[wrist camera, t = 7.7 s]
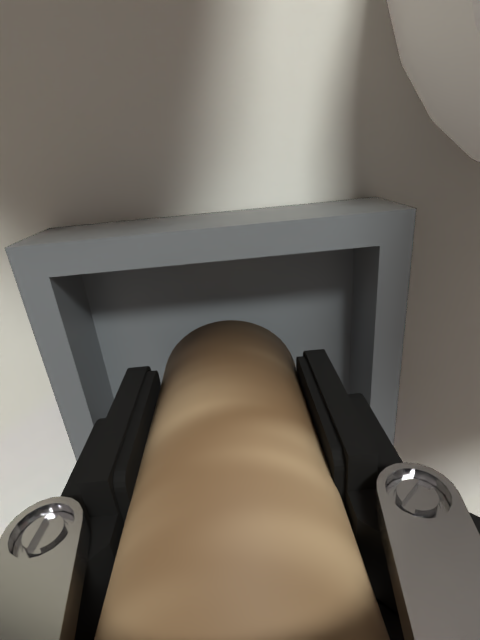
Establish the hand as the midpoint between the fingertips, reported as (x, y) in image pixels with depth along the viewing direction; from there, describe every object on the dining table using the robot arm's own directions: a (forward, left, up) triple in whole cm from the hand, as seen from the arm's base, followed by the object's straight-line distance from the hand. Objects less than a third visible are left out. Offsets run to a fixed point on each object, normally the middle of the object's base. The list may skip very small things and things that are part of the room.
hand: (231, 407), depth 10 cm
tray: (0, 0, -3) cm, 3 cm away
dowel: (0, 0, -1) cm, 1 cm away
